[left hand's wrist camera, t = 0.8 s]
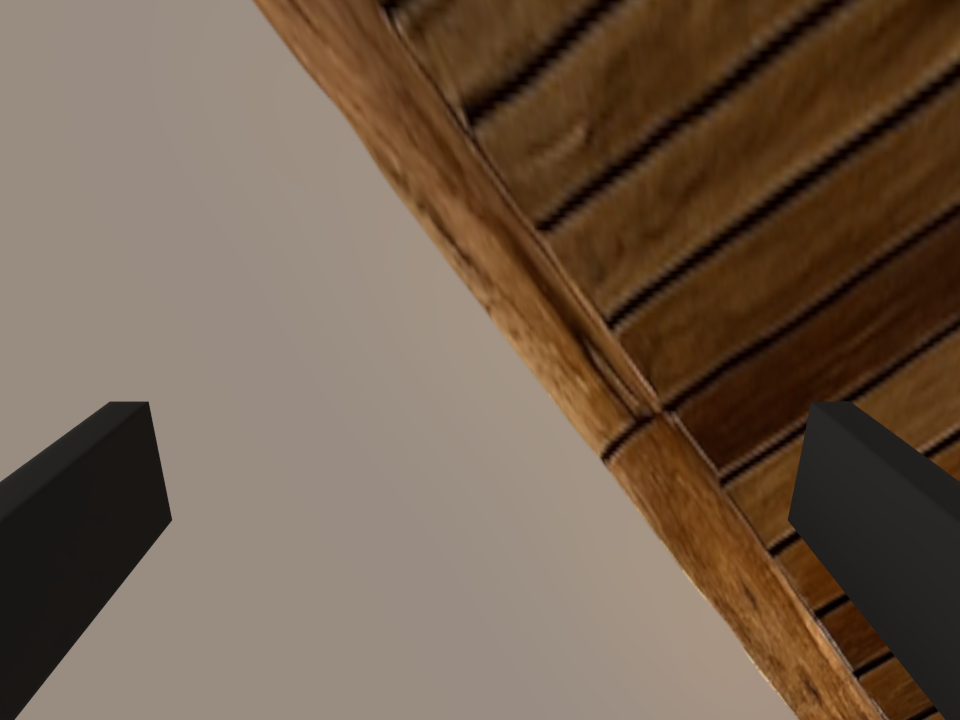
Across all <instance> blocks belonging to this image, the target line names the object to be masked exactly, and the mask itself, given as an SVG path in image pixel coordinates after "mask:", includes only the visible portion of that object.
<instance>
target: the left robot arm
mask: <svg viewBox="0 0 960 720" xmlns="http://www.w3.org/2000/svg"><path fill="white" fill-rule="evenodd" d="M171 521H172V517H171V512H170V507H169V502H168V497H167V492H166V487H165V482H164V477H163V472H162V467H161V462H160V457H159V452H158V447H157V442H156V437H155V432H154V427H153V422H152V417H151V412H150V407H149V402H109V403H107V404H106V405H105V406H103V407H102V408H101V409H99V410H98V411H97V412H95V413H94V414H92V415H91V416H90V417H88V418H87V419H86V420H84V421H83V422H81V423H80V424H79V425H77V426H76V427H75V428H73V429H72V430H71V431H69V432H68V433H66V434H65V435H64V436H62V437H61V438H60V439H58V440H57V441H56V442H54V443H53V444H51V445H50V446H49V447H47V448H46V449H45V450H43V451H42V452H41V453H39V454H38V455H37V456H35V457H34V458H32V459H31V460H30V461H28V462H27V463H26V464H24V465H23V466H21V467H20V468H19V469H17V470H16V471H15V472H13V473H12V474H11V475H9V476H8V477H6V478H5V479H4V480H2V481H1V482H0V720H15V718H16V717H17V716H18V715H19V713H20V712H21V711H22V710H23V708H24V707H25V706H26V705H27V703H28V702H29V701H30V699H31V698H32V697H33V696H34V694H35V693H36V692H37V691H38V689H39V688H40V687H41V686H42V684H43V683H44V682H45V680H46V679H47V678H48V677H49V675H50V674H51V673H52V672H53V670H54V669H55V668H56V667H57V665H58V664H59V663H60V661H61V660H62V659H63V658H64V656H65V655H66V654H67V653H68V651H69V650H70V649H71V647H72V646H73V645H74V644H75V642H76V641H77V640H78V639H79V637H80V636H81V635H82V634H83V632H84V631H85V630H86V629H87V627H88V626H89V625H90V623H91V622H92V621H93V620H94V618H95V617H96V616H97V615H98V613H99V612H100V611H101V610H102V608H103V607H104V606H105V604H106V603H107V602H108V601H109V599H110V598H111V597H112V596H113V594H114V593H115V592H116V591H117V589H118V588H119V587H120V585H121V584H122V583H123V582H124V580H125V579H126V578H127V577H128V575H129V574H130V573H131V572H132V570H133V569H134V568H135V567H136V565H137V564H138V563H139V561H140V560H141V559H142V558H143V556H144V555H145V554H146V553H147V551H148V550H149V549H150V548H151V546H152V545H153V544H154V542H155V541H156V540H157V539H158V537H159V536H160V535H161V534H162V532H163V531H164V530H165V528H166V527H167V526H168V525H169V523H170V522H171ZM788 521H789V522H790V523H791V525H792V526H793V527H794V529H795V530H796V531H797V532H798V534H799V535H800V536H801V537H802V539H803V540H804V541H805V542H806V544H807V545H808V546H809V548H810V549H811V550H812V551H813V553H814V554H815V555H816V556H817V558H818V559H819V560H820V561H821V563H822V564H823V565H824V567H825V568H826V569H827V570H828V572H829V573H830V574H831V575H832V577H833V578H834V579H835V580H836V582H837V583H838V584H839V586H840V587H841V588H842V589H843V591H844V592H845V593H846V594H847V596H848V597H849V598H850V599H851V601H852V602H853V603H854V605H855V606H856V607H857V608H858V610H859V611H860V612H861V613H862V615H863V616H864V617H865V618H866V620H867V621H868V622H869V623H870V625H871V626H872V627H873V629H874V630H875V631H876V632H877V634H878V635H879V636H880V637H881V639H882V640H883V641H884V642H885V644H886V645H887V646H888V648H889V649H890V650H891V651H892V653H893V654H894V655H895V656H896V658H897V659H898V660H899V661H900V663H901V664H902V665H903V667H904V668H905V669H906V670H907V672H908V673H909V674H910V675H911V677H912V678H913V679H914V680H915V682H916V683H917V684H918V686H919V687H920V688H921V689H922V691H923V692H924V693H925V694H926V696H927V697H928V698H929V699H930V701H931V702H932V703H933V705H934V706H935V707H936V708H937V710H938V711H939V712H940V713H941V715H942V716H943V717H944V718H945V720H960V482H959V481H958V480H956V479H955V478H954V477H952V476H951V475H949V474H948V473H947V472H945V471H944V470H943V469H941V468H940V467H939V466H937V465H936V464H934V463H933V462H932V461H930V460H929V459H928V458H926V457H925V456H924V455H922V454H921V453H919V452H918V451H917V450H915V449H914V448H913V447H911V446H910V445H909V444H907V443H906V442H904V441H903V440H902V439H900V438H899V437H898V436H896V435H895V434H894V433H892V432H891V431H889V430H888V429H887V428H885V427H884V426H883V425H881V424H880V423H879V422H877V421H876V420H874V419H873V418H872V417H870V416H869V415H868V414H866V413H865V412H864V411H862V410H861V409H859V408H858V407H857V406H855V405H854V404H853V403H851V402H811V406H810V412H809V417H808V422H807V427H806V432H805V437H804V442H803V447H802V452H801V457H800V462H799V467H798V472H797V477H796V482H795V487H794V492H793V497H792V502H791V507H790V512H789V517H788Z"/></svg>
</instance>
